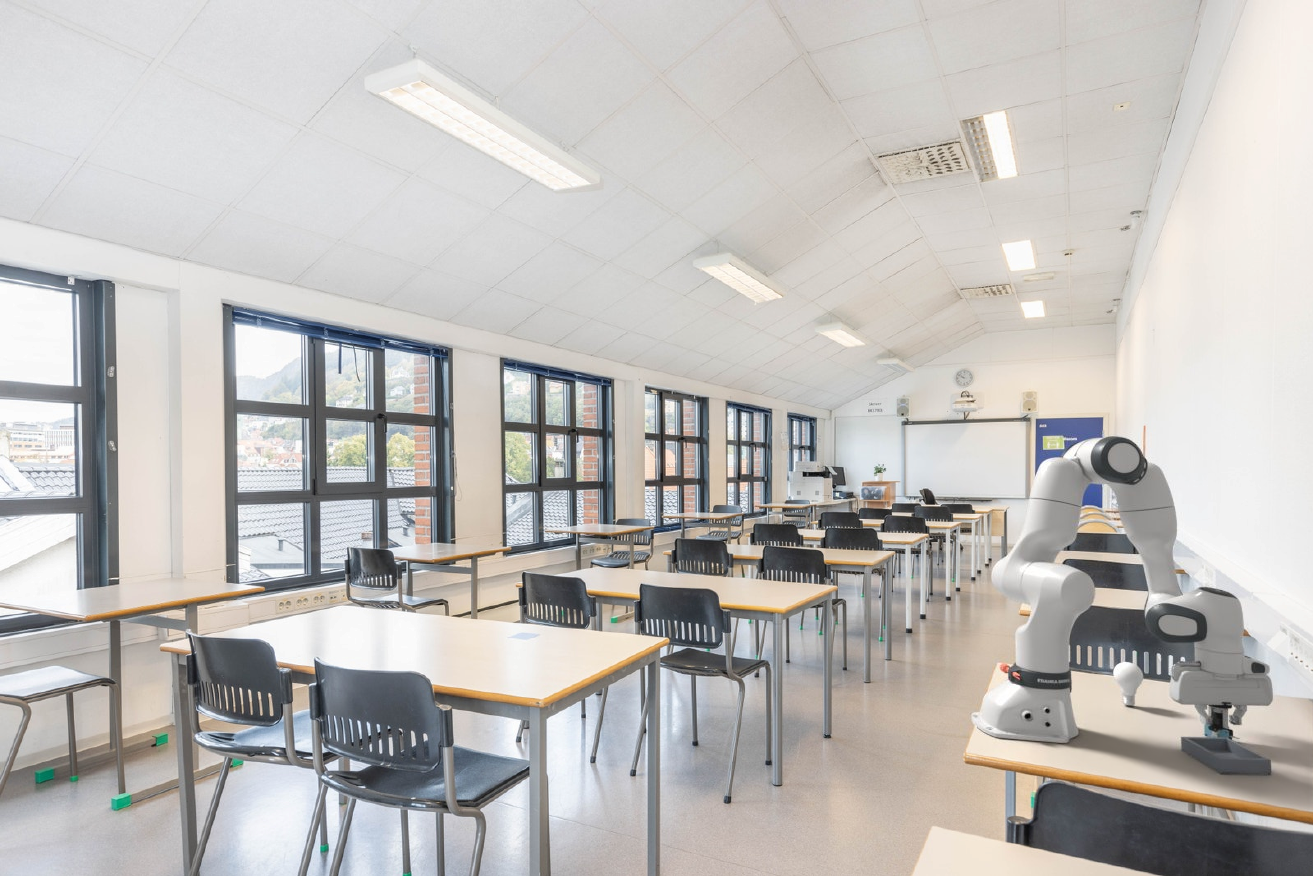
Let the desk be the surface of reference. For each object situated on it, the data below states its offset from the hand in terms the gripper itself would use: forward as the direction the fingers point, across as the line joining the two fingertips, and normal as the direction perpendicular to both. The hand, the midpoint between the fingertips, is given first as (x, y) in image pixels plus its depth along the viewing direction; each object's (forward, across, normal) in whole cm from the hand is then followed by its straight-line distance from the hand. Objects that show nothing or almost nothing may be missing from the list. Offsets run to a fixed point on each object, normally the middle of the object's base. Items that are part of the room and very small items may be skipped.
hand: (1220, 724), depth 159 cm
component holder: (+4, -8, -12) cm, 15 cm away
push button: (+4, 0, 0) cm, 4 cm away
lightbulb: (+4, -7, +22) cm, 23 cm away
